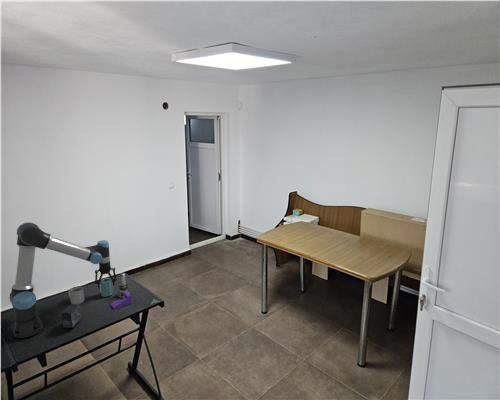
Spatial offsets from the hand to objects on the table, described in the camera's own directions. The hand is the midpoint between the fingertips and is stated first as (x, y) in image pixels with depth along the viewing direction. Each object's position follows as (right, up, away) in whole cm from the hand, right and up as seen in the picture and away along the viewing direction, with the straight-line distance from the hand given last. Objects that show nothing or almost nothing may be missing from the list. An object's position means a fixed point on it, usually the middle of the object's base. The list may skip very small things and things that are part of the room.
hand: (106, 290), depth 250 cm
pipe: (+13, -3, +1) cm, 13 cm away
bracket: (+15, -7, -12) cm, 20 cm away
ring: (+13, +2, 0) cm, 13 cm away
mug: (-18, -6, -7) cm, 20 cm away
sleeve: (0, -3, +1) cm, 3 cm away
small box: (-7, -11, -35) cm, 38 cm away
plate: (+13, -4, +1) cm, 13 cm away
